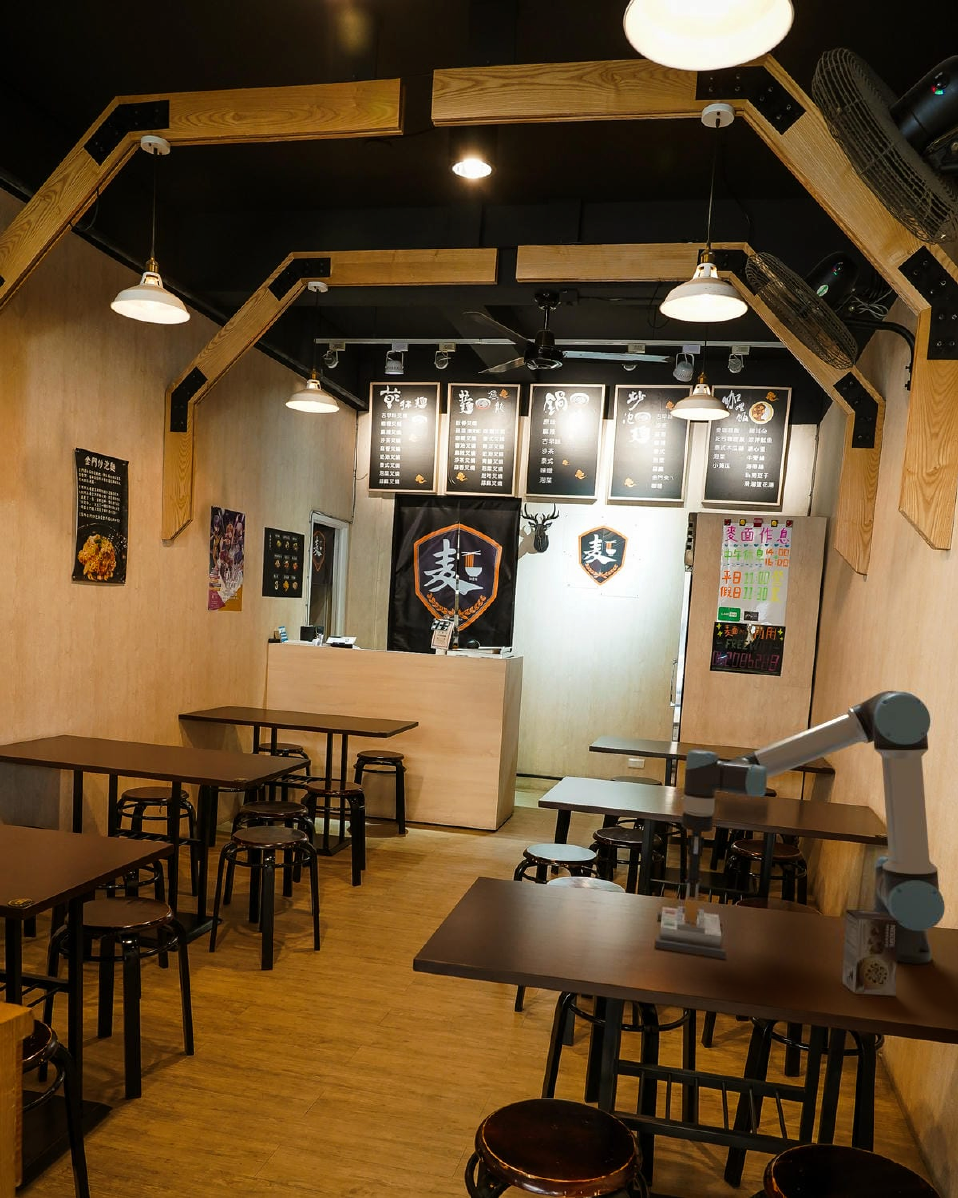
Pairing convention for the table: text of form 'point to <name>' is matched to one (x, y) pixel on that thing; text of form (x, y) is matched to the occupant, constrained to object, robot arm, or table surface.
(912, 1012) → the table surface
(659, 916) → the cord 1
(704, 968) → the table surface
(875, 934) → the coffee box
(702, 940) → the panel
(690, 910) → the lever
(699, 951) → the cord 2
